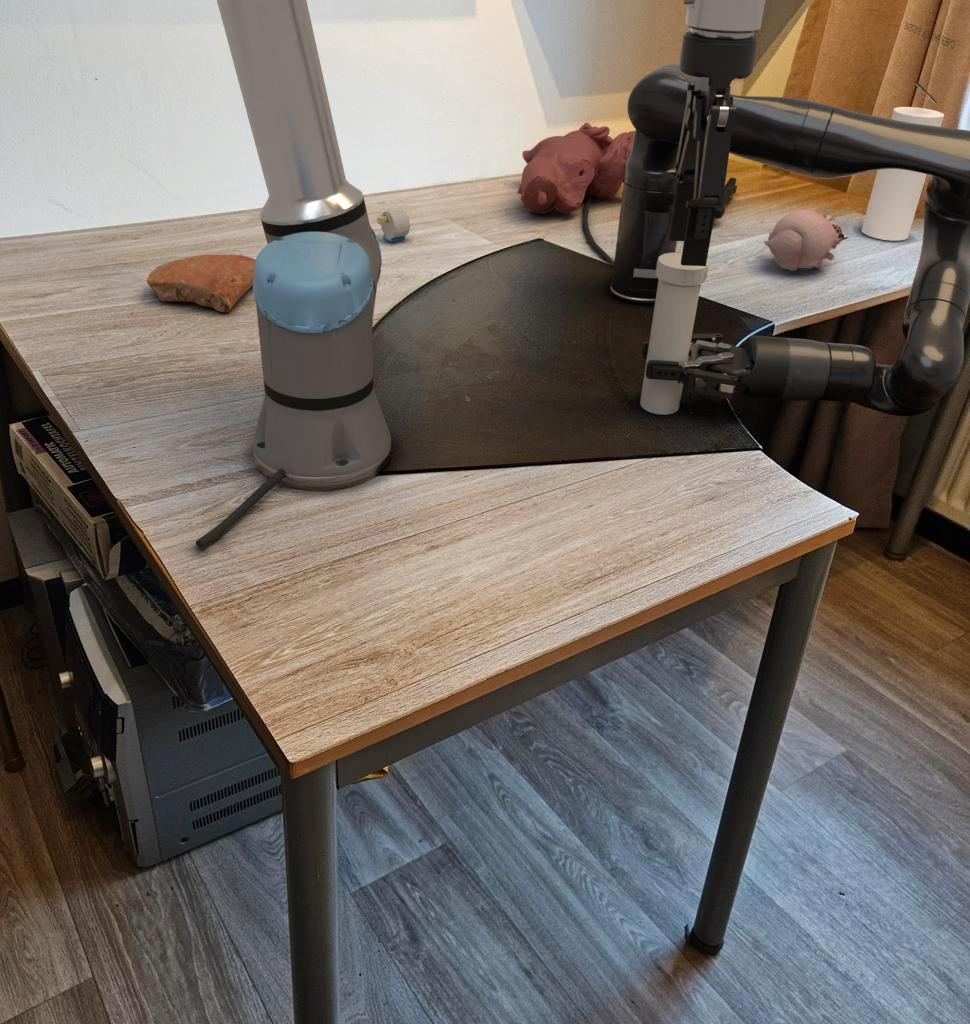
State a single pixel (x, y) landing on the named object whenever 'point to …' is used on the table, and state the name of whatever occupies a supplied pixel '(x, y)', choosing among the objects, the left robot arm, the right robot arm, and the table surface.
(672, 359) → the jar
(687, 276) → the lid
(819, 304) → the table surface
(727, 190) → the toy
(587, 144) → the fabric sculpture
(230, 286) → the ceramic shard
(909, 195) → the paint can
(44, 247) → the table surface
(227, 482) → the table surface
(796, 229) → the toy
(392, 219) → the electric motor
